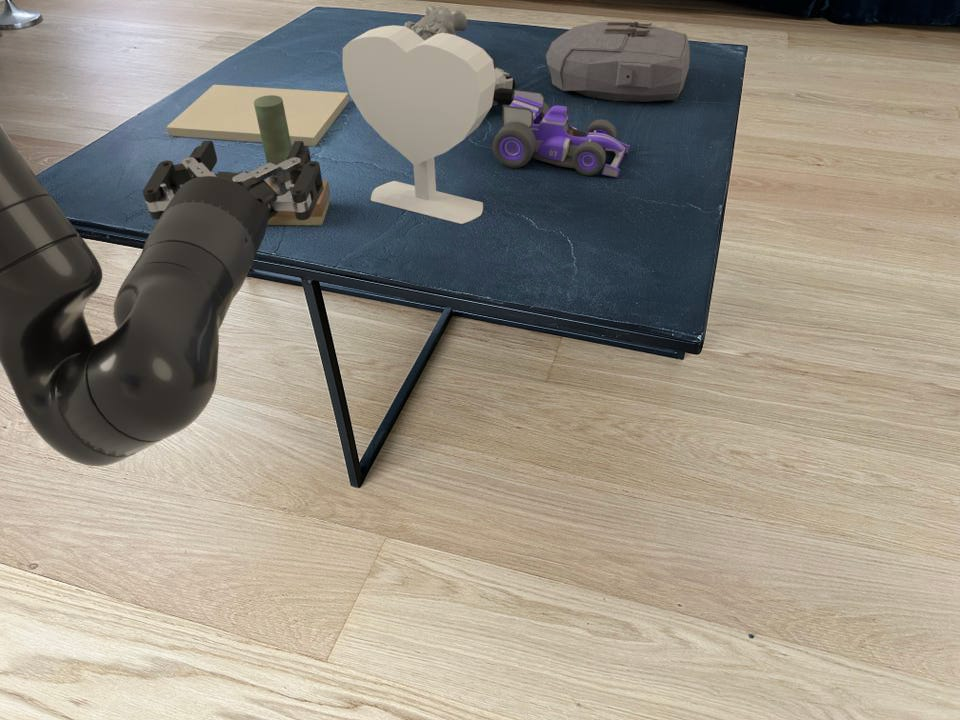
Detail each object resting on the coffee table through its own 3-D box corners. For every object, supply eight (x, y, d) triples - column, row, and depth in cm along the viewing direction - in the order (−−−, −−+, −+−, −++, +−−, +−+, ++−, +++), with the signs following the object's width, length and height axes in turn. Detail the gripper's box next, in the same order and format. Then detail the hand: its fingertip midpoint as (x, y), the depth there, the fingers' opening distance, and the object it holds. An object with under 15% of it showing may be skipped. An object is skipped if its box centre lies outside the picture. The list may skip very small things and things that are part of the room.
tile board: (168, 135, 97) (165, 127, 96) (215, 92, 107) (213, 84, 107) (315, 146, 94) (313, 137, 94) (349, 101, 105) (348, 92, 104)
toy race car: (615, 184, 86) (621, 130, 82) (492, 165, 90) (491, 113, 86) (631, 148, 93) (638, 96, 88) (515, 131, 97) (516, 81, 92)
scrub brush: (249, 226, 80) (220, 111, 72) (261, 202, 84) (234, 90, 76) (323, 226, 80) (303, 111, 72) (331, 202, 84) (313, 90, 75)
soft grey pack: (687, 71, 111) (553, 60, 115) (697, 11, 105) (556, 2, 109) (682, 113, 100) (535, 100, 104) (693, 49, 94) (537, 38, 98)
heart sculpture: (498, 206, 83) (499, 38, 71) (478, 228, 80) (475, 56, 68) (379, 177, 88) (361, 16, 76) (355, 196, 85) (332, 31, 73)
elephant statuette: (395, 73, 112) (390, 19, 107) (422, 46, 120) (419, -6, 115) (454, 80, 110) (452, 25, 104) (477, 51, 118) (477, -1, 113)
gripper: (286, 204, 56) (325, 111, 68) (97, 203, 56) (169, 111, 68) (303, 285, 61) (336, 185, 73) (130, 284, 61) (191, 185, 73)
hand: (256, 149), depth 70 cm, fingers open, 8 cm apart
